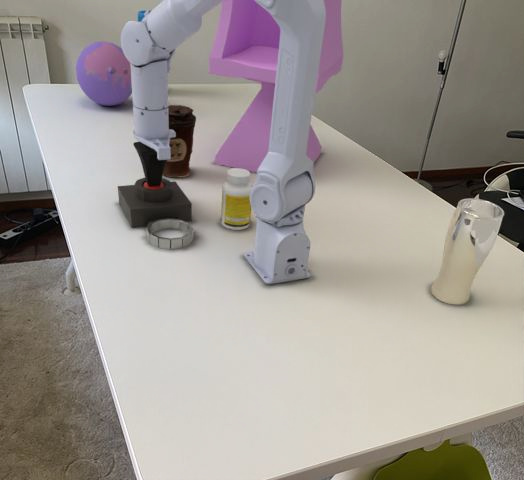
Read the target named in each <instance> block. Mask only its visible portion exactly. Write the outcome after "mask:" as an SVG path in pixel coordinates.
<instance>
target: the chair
mask: <svg viewBox="0 0 524 480" xmlns="http://www.w3.org/2000/svg"><path fill="white" fill-rule="evenodd" d="M324 5H325V10H326V21H325V28H324V35H323V42H322V48H321V55H320V62H319V69H318V76H317V82H316V89H315V94H317V93H319V92H320V91H321V90H322V89H323V88H324V86H325V85H326V84H327V82H328V81H329V80H330V79H331V78H332V77H333V76H337V75H338V74H339V73H340V72H341V71H342V67H343V60H344V47H343V46H344V45H343V33H342V0H324ZM215 31H216V32H215V36H214V40H213V44H212V47H211V51H210V54H209V57H208V58H209V61H208V66H209V67H208V74H209V75H215V76H220V77H226V78H231V79H232V78H235V79H245V80H247V81H252V82H256V83H259V84H261V85H260V89H259V91H258V93H257V94H256V95H255V96H254V98H253V100H252V101H251V103H250V104H249V105H248V107H247V109H246V110H245V112H243V115H242V116H241V117H240V119H239V120H238V122H237V123H236V125H235V126H234V128H233V129H232V130H231V132H230V133H229V135H228V136H227V138H226V139H225V141H224V143H223V144H222V145H221V147H220V148H219V150H218V151H217V153H216V154H215V156H214V164H216V165H220V166H225V167H230V168H232V169H233V168H241V169H245V170H248V171H249V172H253V173H256V174H257V170H258V168H259V166H260V165H261V163H262V162H263V160H264V158H265V157H266V155H267V153H268V149H269V140H270V130H271V120H272V111H273V101H274V91H275V81H276V72H277V62H278V52H279V43H280V33H281V29H280V27H279V25H278V24H277V23H276V21H275V20H274V18H273V17H272V16H271V14H270V13H269V12H268V11H267V10H265V9H264V8H263V7H262V6H260V5H259V4H258V3H256V2H255V1H254V0H224V1H223V2H221V5H220V12H219V18H218V23H217V27H216V30H215ZM321 153H322V144H321V142H320V141H319V139H318V136H317V135H316V132H315V130H314V128H313V126H312V125H311V123H310V130H309V137H308V143H307V150H306V155H307V156H308V157H309V159H311V160H312V161H313V163H315V162H316V160H317V159H318V158H319V156H320V155H321Z"/></svg>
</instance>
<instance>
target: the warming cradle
mask: <svg viewBox="0 0 524 480" xmlns="http://www.w3.org/2000/svg"><path fill="white" fill-rule="evenodd" d="M145 223H146V226H145V231H146V232H145V234H146V240H147V242H148V243H149V244H150V245H152V246H154V247H155V248H158V249H164V250H165V249H166V250H177V249H183V248H185V247H187V246H189V245H191V244H192V243H193V240H194V230H195V229H194V227H193V225H192V224H191V223H190V222H186V221H184V220H180V219H179V217H173V218H163V219H154V220H146V221H145ZM167 229H171V230H179V231H182V232H183V233H186V234H184V235H182V236H180V237H171V238H170V237H163V236H159V235H157V234H155V232H157V231H160V230H167Z"/></svg>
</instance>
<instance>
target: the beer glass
mask: <svg viewBox="0 0 524 480" xmlns="http://www.w3.org/2000/svg"><path fill="white" fill-rule="evenodd" d="M504 217H505V211H504V210H503V208H501V207H500V206H499V205H497V204H496V203H493V202H492V201H489V200H485V199H480V198H474V197H472V198H471V197H469V198H463V199H460V200H459V201H458V202H457V206H456V207H455V210H454V212H453V215H452V217H451V220H450V222H449V225H448V228H447V231H446V234H445V239H444V244H443V251H442V258H441V264H440V269H439V272H438V275H437V277H436V278H435V280H434V282H433V283H432V285H431V288H430V292H431V295H433V297H434V298H435V299H437V300H438V301H440V302H442V303H445V304H449V305H455V306H457V305H458V306H459V305H460V306H461V305H464V304H466V303H468V301H469V300H470V297H471V292H472V291H471V290H472V286H473V282H474V280H475V278H476V276H477V275H478V272H479V271H480V269H481V268H482V266H483V264H484V263H485V262H486V260H487V258H488V257H489V255H490V253H491V252H492V249H493V247H494V245H495V243H496V240H497V237H498V235H499V233H500V228H501V226H502V221H503V218H504Z"/></svg>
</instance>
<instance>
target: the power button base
mask: <svg viewBox="0 0 524 480" xmlns="http://www.w3.org/2000/svg"><path fill="white" fill-rule="evenodd" d="M145 182H146V179H145V177H142V178H139V179H137V180H136V181H135V183H134V184H128V185H117V194H118V195H117V196H118V204H119V206H120V208H121V210H122V212H123V214H124V216H125V218H126V220H127V222H128V224H129V226H130V228H131V229H136V228H143V227H145V228H146V223H145V221H146V220H154V219H163V218H173V217H179V219H180V220H184V221H186V222H188V223H190V222H192V219H193V218H192V217H193V216H192V212H193V210H192V207H193V204H192V202H191V201H190V199H189V198H188V196H187V195H186V194H185V192H184V191H183V189H182V188H181V187H180V186H179V184H178V182H177V181H175V180H173V181H171V180H169V179H167V178H164V177H162V180H161V182H162V183H163V184H164V187H163V188H160V189H149V188H145V187H144V183H145Z"/></svg>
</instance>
